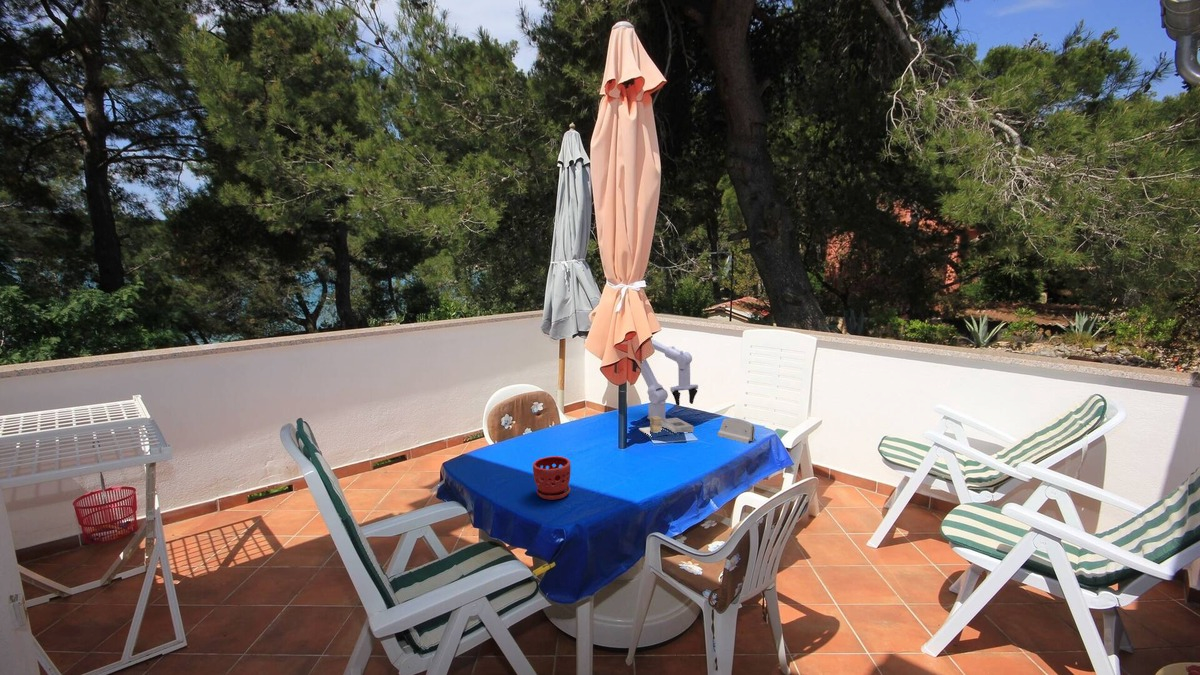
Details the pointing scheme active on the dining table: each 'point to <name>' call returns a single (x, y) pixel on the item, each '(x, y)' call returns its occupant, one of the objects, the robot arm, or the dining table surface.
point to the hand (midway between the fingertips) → (684, 404)
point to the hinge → (737, 430)
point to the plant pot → (552, 477)
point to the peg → (655, 424)
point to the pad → (646, 430)
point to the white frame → (676, 425)
